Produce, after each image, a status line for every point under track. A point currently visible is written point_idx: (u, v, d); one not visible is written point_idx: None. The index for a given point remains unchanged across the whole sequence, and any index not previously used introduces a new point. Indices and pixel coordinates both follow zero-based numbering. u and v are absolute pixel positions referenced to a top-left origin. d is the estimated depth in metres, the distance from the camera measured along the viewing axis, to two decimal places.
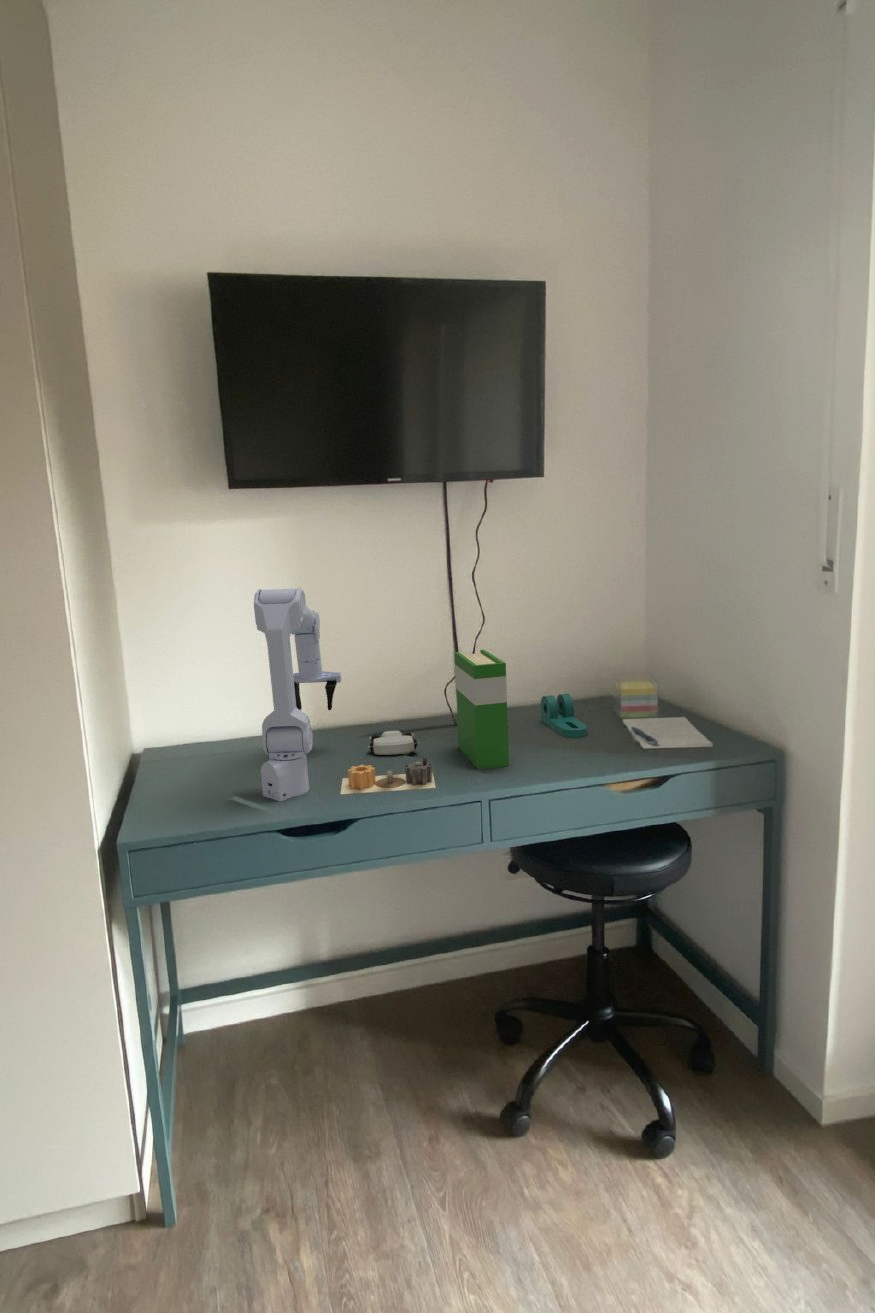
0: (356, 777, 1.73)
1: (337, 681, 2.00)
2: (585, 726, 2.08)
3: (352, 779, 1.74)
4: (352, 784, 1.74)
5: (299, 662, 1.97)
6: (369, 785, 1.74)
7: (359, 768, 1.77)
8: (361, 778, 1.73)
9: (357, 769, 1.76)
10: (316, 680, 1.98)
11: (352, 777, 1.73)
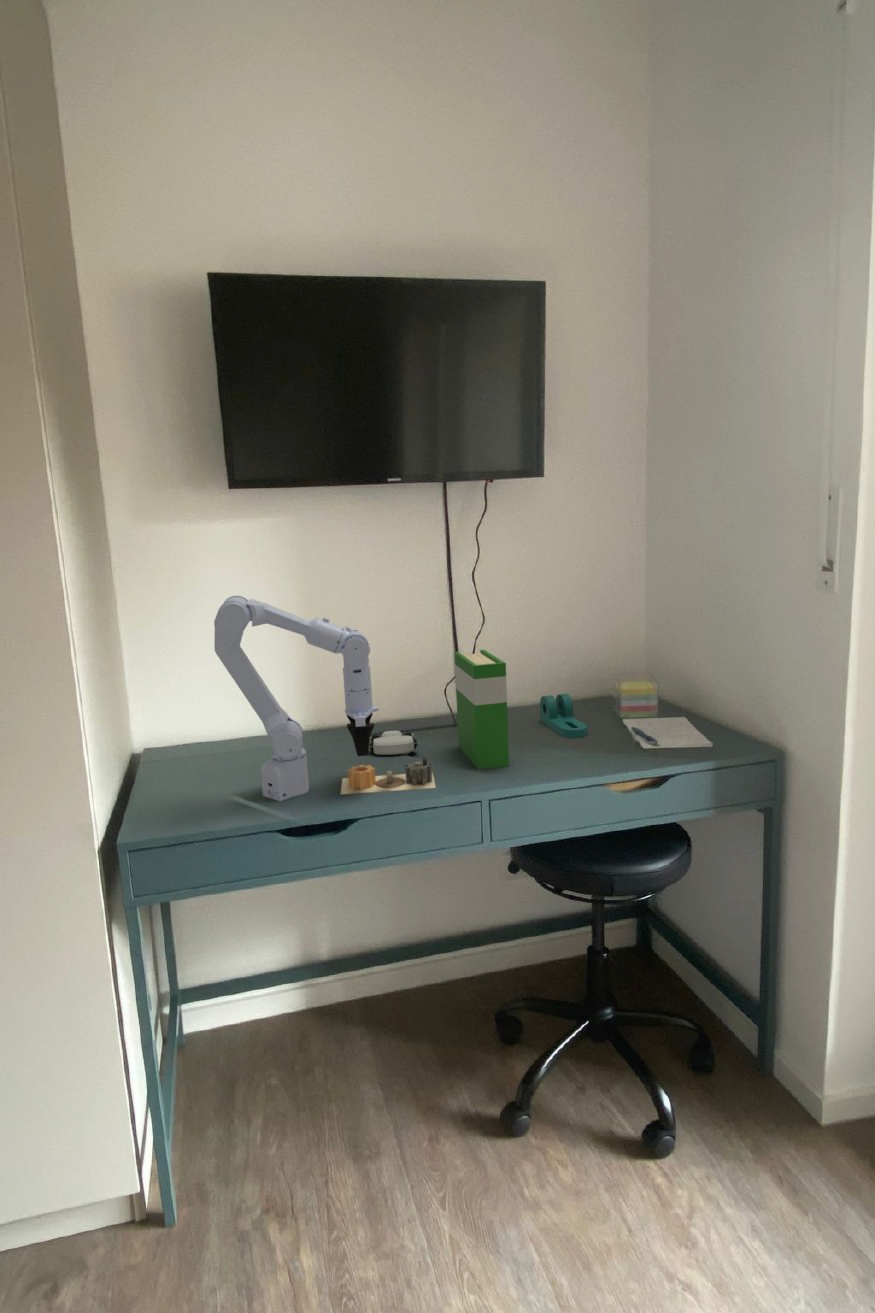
0: (356, 777, 1.73)
1: (355, 724, 1.67)
2: (585, 726, 2.08)
3: (352, 779, 1.74)
4: (352, 784, 1.74)
5: None
6: (369, 785, 1.74)
7: (359, 768, 1.77)
8: (361, 778, 1.73)
9: (357, 769, 1.76)
10: (347, 713, 1.72)
11: (352, 777, 1.73)
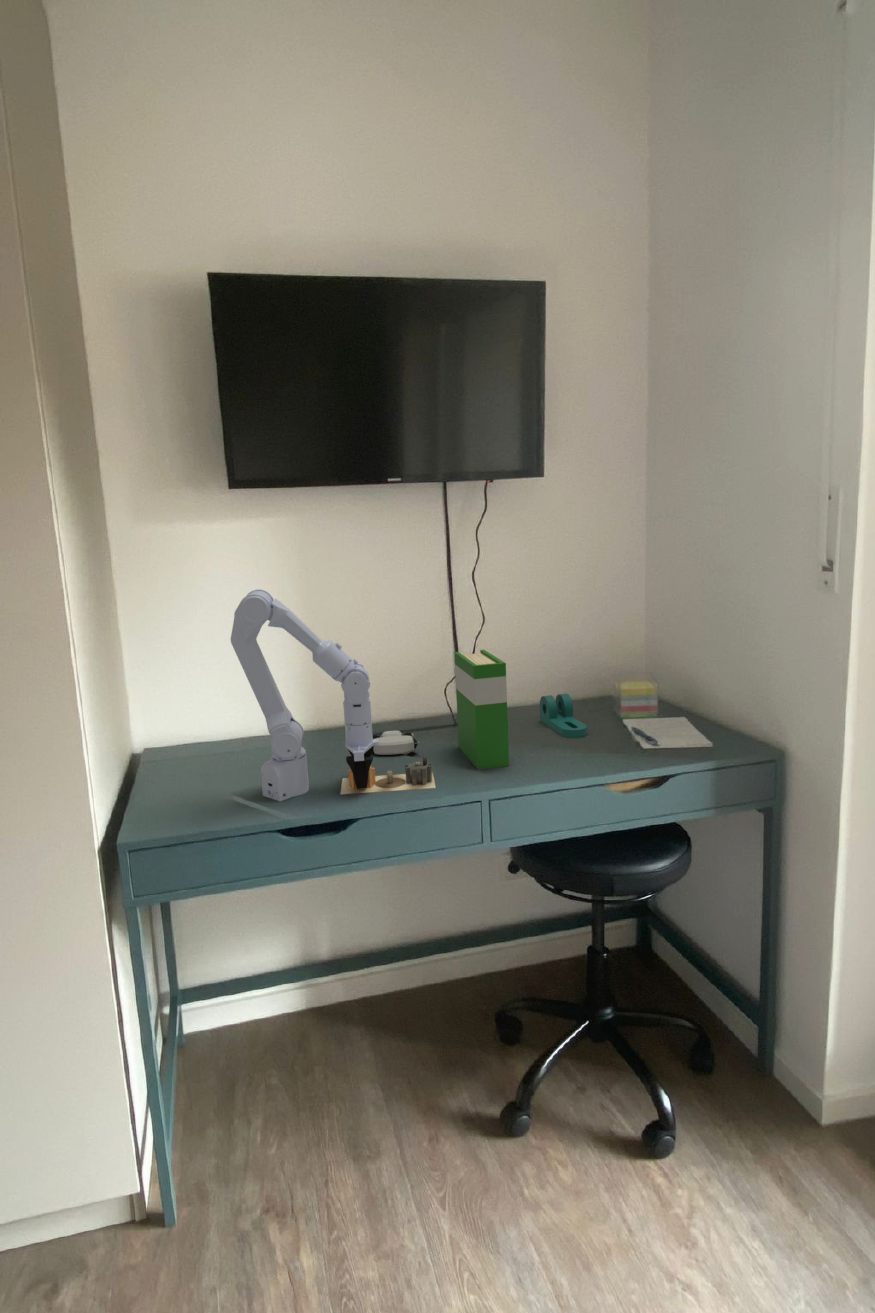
0: None
1: (354, 758, 1.68)
2: (585, 726, 2.08)
3: (352, 779, 1.74)
4: (352, 784, 1.74)
5: None
6: (369, 785, 1.74)
7: None
8: None
9: None
10: (347, 747, 1.72)
11: (352, 777, 1.73)
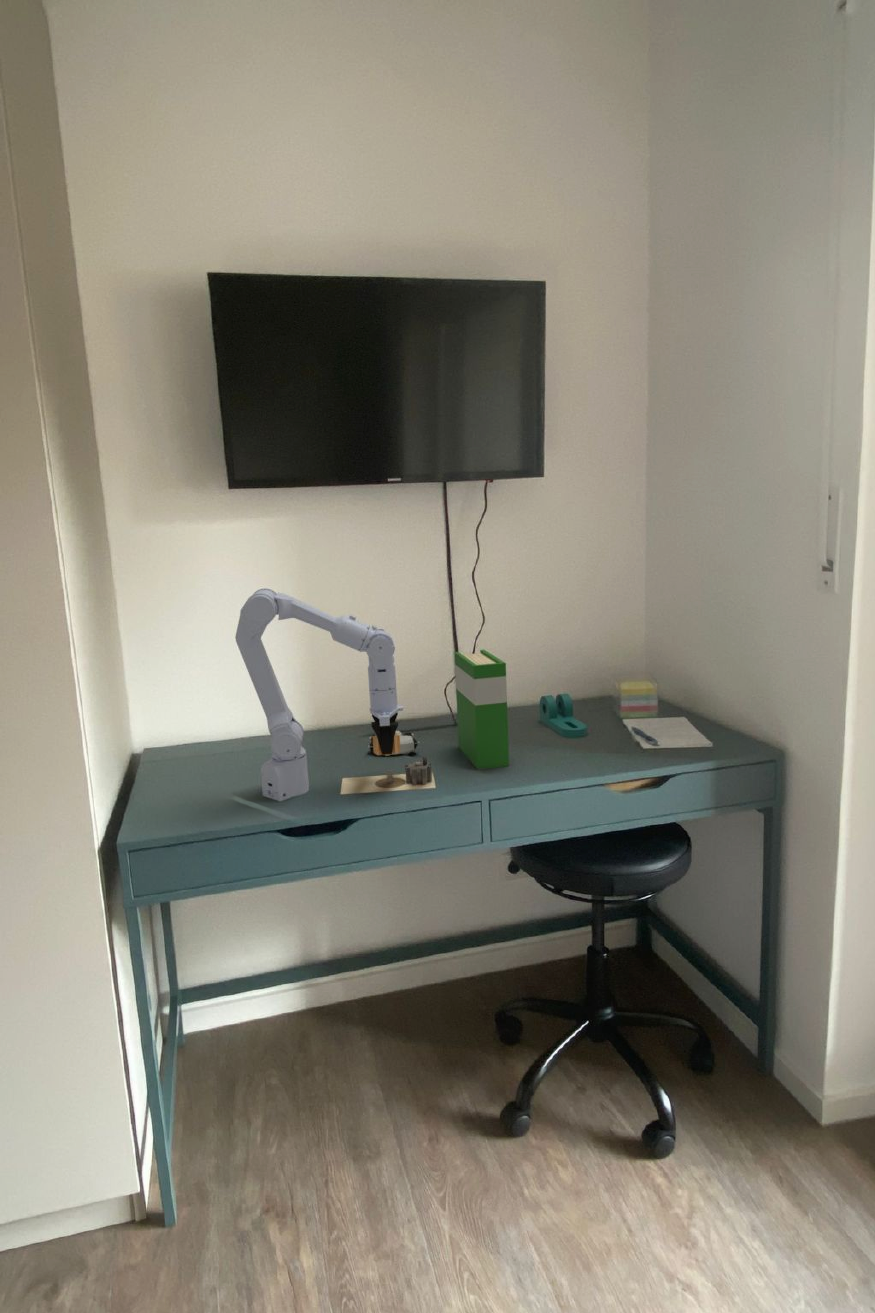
0: None
1: (380, 723, 1.67)
2: (585, 726, 2.08)
3: (377, 746, 1.72)
4: (377, 751, 1.73)
5: None
6: (394, 752, 1.73)
7: None
8: None
9: None
10: (371, 712, 1.71)
11: (377, 743, 1.72)
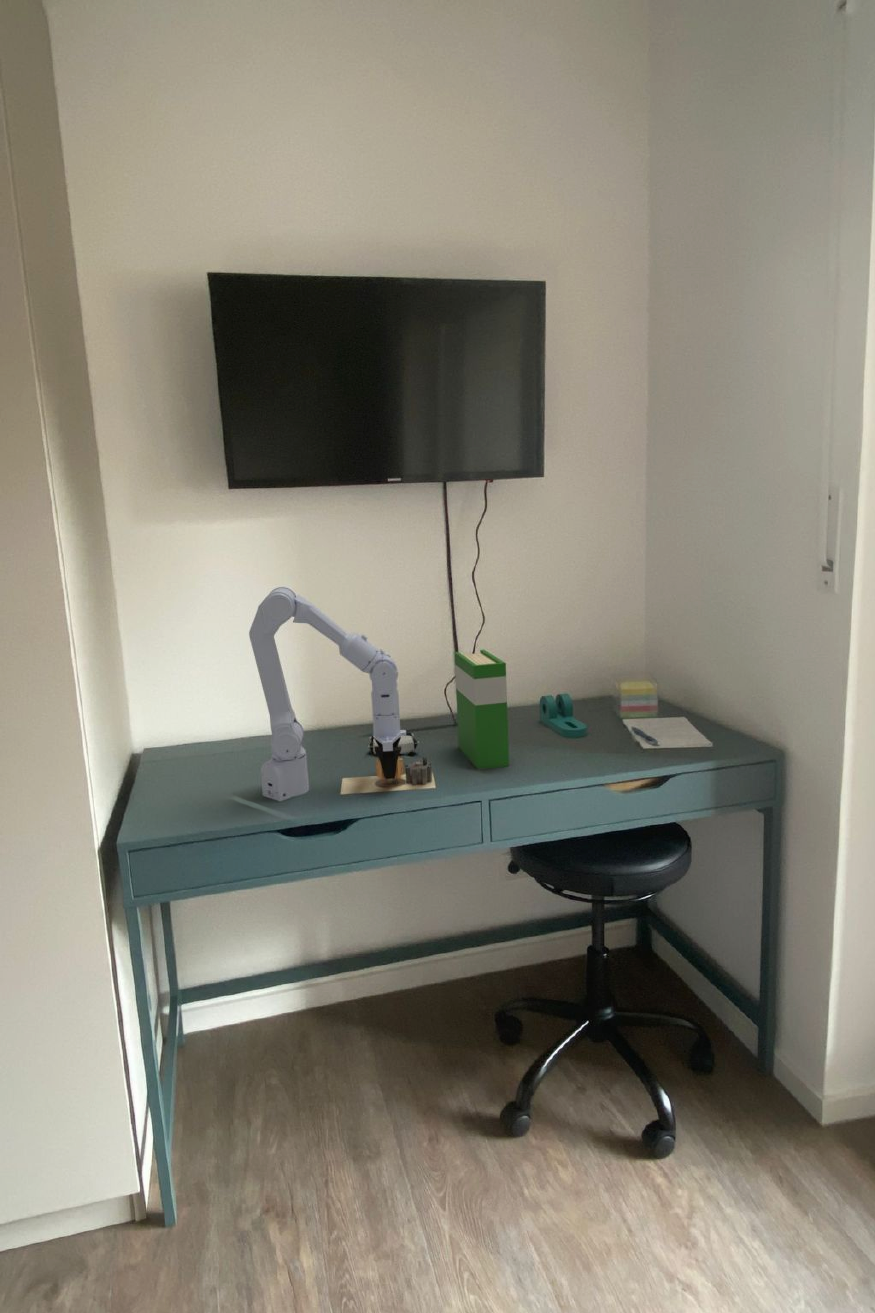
0: None
1: (383, 749, 1.68)
2: (584, 726, 2.08)
3: (380, 770, 1.74)
4: (380, 775, 1.74)
5: None
6: (397, 776, 1.74)
7: None
8: None
9: None
10: (375, 737, 1.72)
11: (380, 768, 1.73)
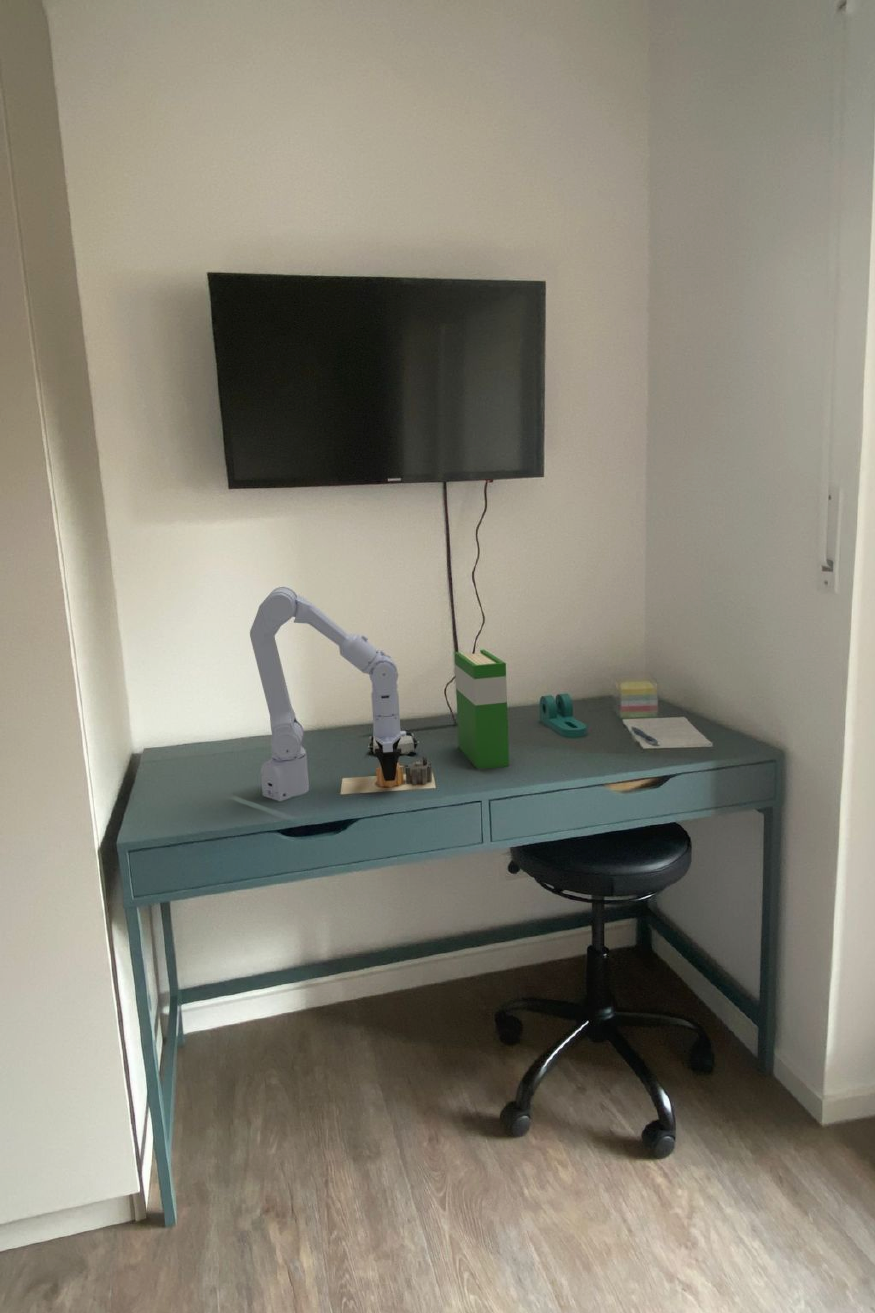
0: None
1: (383, 750, 1.68)
2: (584, 726, 2.08)
3: (381, 777, 1.74)
4: (380, 782, 1.74)
5: None
6: (397, 783, 1.74)
7: None
8: None
9: None
10: (375, 738, 1.72)
11: (381, 775, 1.74)
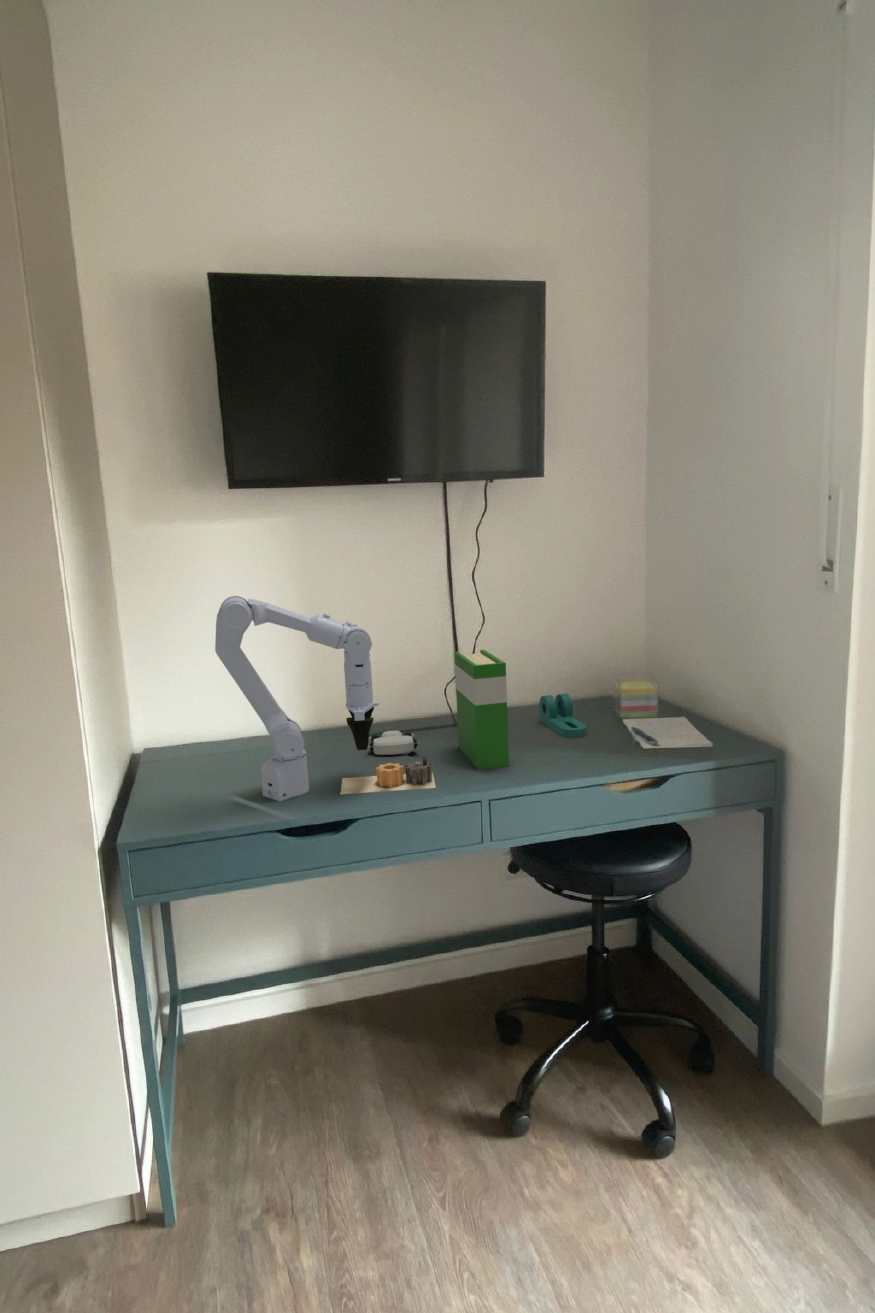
0: (385, 775, 1.74)
1: (354, 718, 1.69)
2: (584, 726, 2.08)
3: (381, 777, 1.74)
4: (380, 782, 1.74)
5: None
6: (397, 783, 1.74)
7: (387, 766, 1.77)
8: (390, 776, 1.73)
9: (385, 767, 1.77)
10: (347, 707, 1.73)
11: (381, 775, 1.74)
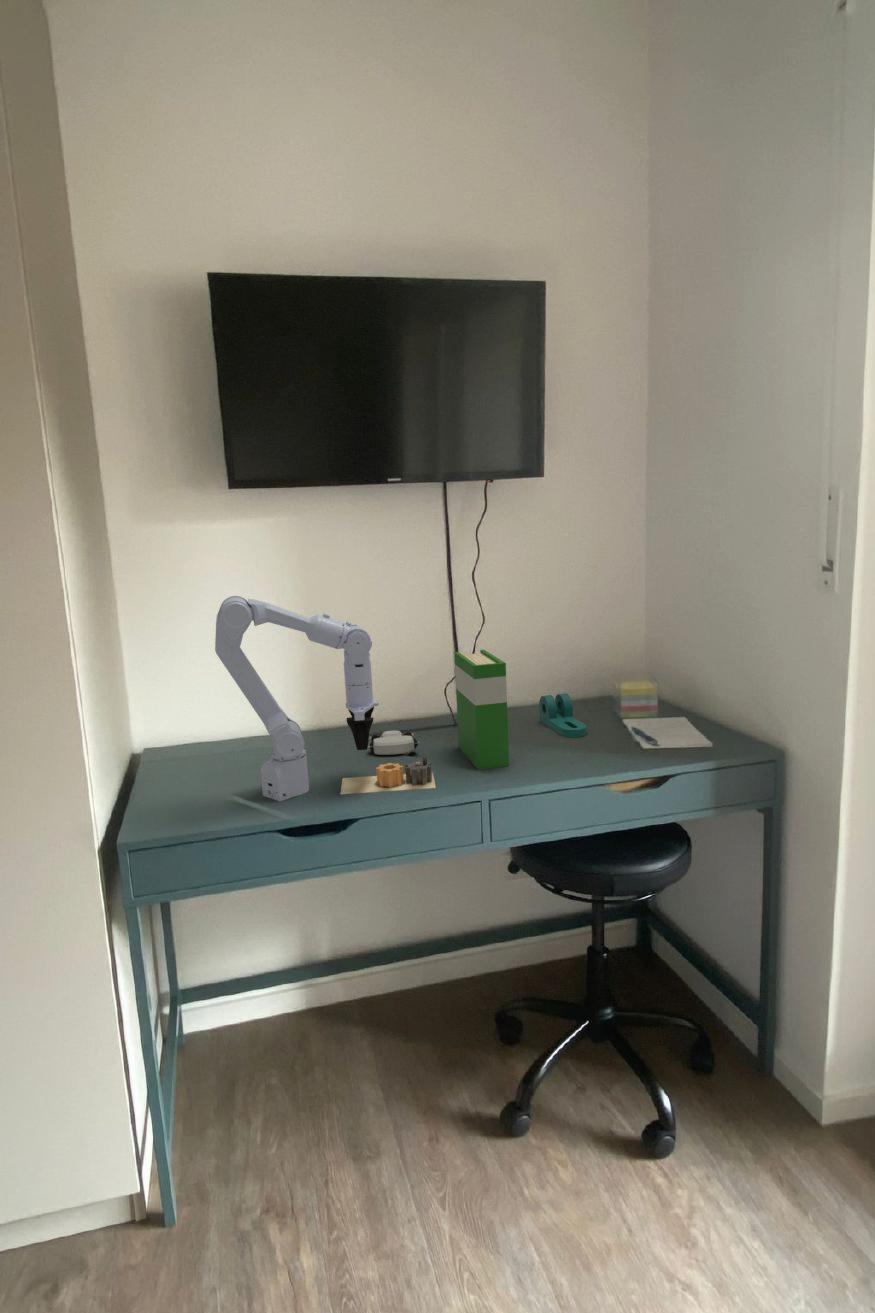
0: (385, 775, 1.74)
1: (354, 718, 1.69)
2: (584, 726, 2.08)
3: (381, 777, 1.74)
4: (380, 782, 1.74)
5: None
6: (397, 783, 1.74)
7: (387, 766, 1.77)
8: (390, 776, 1.73)
9: (385, 767, 1.77)
10: (347, 707, 1.73)
11: (381, 775, 1.74)
